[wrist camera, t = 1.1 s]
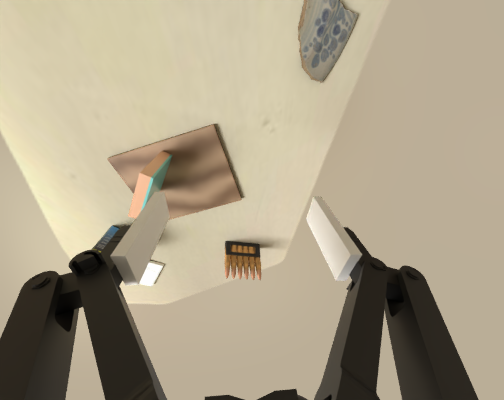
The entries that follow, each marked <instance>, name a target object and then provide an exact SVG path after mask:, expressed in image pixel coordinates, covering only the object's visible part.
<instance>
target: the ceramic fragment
mask: <svg viewBox="0 0 504 400" xmlns="http://www.w3.org/2000/svg"><path fill="white" fill-rule="evenodd" d="M357 17H358V15H357V13H353V12H351V11H350V10H346V9H345V8H344V7H343V4H342V3H341V2H340V0H304V5H303V7H302V13H301V16H300V22H299V26H298V30H299V37H298V40H299V42H300V50H299V52H300V56H301V61H302V68H303V69H304V70H305V71H306V73H307V74H308V75H309V76H310V78H311V79H312V80H316V81H320V82H321V83H322V82H323V80H324V79H325V78H326V76H327V75H328V74H329V72H330V71H331V69H332V67H333V66H334V64H335V63H336V61H337V59H338V58H339V56H340V54H341V52H342V50H343V48H344V47H345V45H346V43H347V40H348V38H349V36H350V34H351V32H352V29H353V27H354V25H355V22H356V20H357Z"/></svg>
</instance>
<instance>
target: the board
mask: <svg viewBox="0 0 504 400" xmlns="http://www.w3.org/2000/svg"><path fill="white" fill-rule="evenodd" d="M161 151H164V152H166V153H169V154H171V155H172V158H171V161H170V164H169V167H168V169H167V172H166V175H165V178H164V181H163V184H162V187H161V190H160V192H164V193H165V198H166V203H167V207H168V212H169V216H170V218H169V220H170V219H174V218H177V217H181V216H185V215H188V214H192V213H196V212H199V211H203V210H207V209H210V208H214V207H217V206H221V205H225V204H228V203H232V202H236V201H239V200H241V196H240V193H239V190H238V187H237V185H236V182H235V179H234V177H233V174H232V171H231V169H230V166H229V163H228V161H227V158H226V155H225V153H224V150H223V147H222V145H221V142H220V139H219V137H218V134H217V131H216V129H215V126H214V124H213V125H210V126H206V127H203V128H200V129H197V130H194V131H191V132H187V133H184V134H181V135H178V136H175V137H172V138H169V139H165V140H162V141H159V142H156V143H153V144H150V145H146V146H143V147H140V148H137V149H134V150H131V151H127V152H124V153H121V154H118V155H115V156H112V157H109V158H108V159H107V160H108V161H109V162H110V163H111V165H112V166H113V167H114V169H115V170H116V171H117V173H118V174H119V175H120V176H121V178H122V179H123V180H124V182H125V183H126V184H127V186H128V187H129V188H130V190H131V191H132V192H133V193H134V192H135V188H136V184H137V180H138V177H139V173H140V172H141V171H142V170H143V169H144V168H145V167H146V166H147V165H148V164H149V163H150V162H151V161H152V160H153V159H154V158H155V157H156V156H157V155H158V154H159V153H160V152H161Z"/></svg>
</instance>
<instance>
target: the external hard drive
mask: <svg viewBox="0 0 504 400" xmlns="http://www.w3.org/2000/svg"><path fill="white" fill-rule="evenodd" d="M163 266H164V264H163V263H159V262H156V261H149V263H148V265H147V268H146V270H145V272H144V274H143V276H142V278H141V281H140V283H139V284H143V285H148V286H153V284H154V282H155V281H156V279H157V277H158V275H159V273H160V271H161V270H162V268H163Z"/></svg>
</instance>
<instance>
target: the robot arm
mask: <svg viewBox="0 0 504 400" xmlns="http://www.w3.org/2000/svg"><path fill="white" fill-rule="evenodd" d="M169 218H170V216H169V212H168V207H167V203H166V198H165V193H164V192H154V194H153V195H152V196H151V198H150V199H149V201H148V202H147V204H146V205H145V207H144V208H143V209H142V211H141V212H140V214H139V215H138V217H137V218H136V220H135V221H134V222H133V224H132V225H131V226H123V227H122V228H120V229H119V230H117V232H116V233H115V234H114V235H113V238H111V239H110V241H109V242H108V243H107V245H106V246H105V247H104V249H103V250H102V251H101V253H100V252H99V251H98V250H87V251H84V252H82V253H80V254H78V255H76V256H75V257H74V258H73V259H72V260H71V261H70V263H69V268H70V269H71V270H72V273H68V274H64V275H59V274H58V273H57V272H55V271H47V272H43V273H40V274H38V275H36V276H34V277H32V278H31V279H29V280H28V281H27V282H26V283H25V284H24V285H23V287H22V289H21V291H20V293H19V296H18V298H17V301H16V303H15V305H14V308H13V310H12V312H11V315H10V317H9V319H8V322H7V324H6V327H5V329H4V331H3V334H2V336H1V338H0V400H65V398H66V391H67V384H68V378H69V372H70V365H71V358H72V352H73V345H74V339H75V332H76V326H77V319H78V312H79V308H81V307H83V308H84V312H85V316H86V320H87V324H88V329H89V333H90V337H91V341H92V346H93V350H94V354H95V358H96V362H97V367H98V370H99V375H100V379H101V383H102V387H103V392H104V395H105V400H167V398H166V396H165V394H164V392H163V389H162V387H161V385H160V382H159V380H158V377H157V375H156V372H155V370H154V368H153V365H152V363H151V360H150V358H149V356H148V353H147V351H146V348H145V346H144V344H143V341H142V339H141V336H140V334H139V332H138V329H137V327H136V325H135V322H134V320H133V317H132V315H131V312H130V310H129V308H128V305H127V303H126V300H125V298H124V296H123V293H122V291H121V288H120V287H119V285H120V284H121V282H122V280H123V282H124V283H125V285H139V283H140V281H141V278H142V276H143V274H144V272H145V270H146V268H147V265H148V263H149V261H150V259H151V257H152V255H153V252H154V250H155V248H156V246H157V244H158V242H159V240H160V237H161V235H162V233H163V231H164V229H165V227H166V224H167V222H168V220H169ZM306 220H307V222H308V224H309V226H310V228H311V231H312V233H313V235H314V236H315V239H316V241H317V243H318V245H319V247H320V249H321V251H322V253H323V255H324V257H325V259H326V261H327V263H328V265H329V267H330V269H331V271H332V273H333V275H334V278H335V280H336V281H338V280H347V278H348V277H349V275H350V277H351V279H352V282H351V283H350V284H349V286H348V288H347V290H348V293H347V297H346V300H345V304H344V307H343V310H342V314H341V317H340V321H339V324H338V327H337V331H336V335H335V338H334V341H333V345H332V348H331V352H330V355H329V358H328V362H327V365H326V369H325V372H324V376H323V379H322V382H321V385H320V387H319V389H318V391H317V394H316V396H315V398H314V400H380V399H379V397H378V396H377V393H376V387H377V377H378V367H379V357H380V347H381V337H382V327H383V318H384V309H385V314H386V320H387V325H388V330H389V335H390V340H391V344H392V349H393V355H394V360H395V365H396V370H397V375H398V380H399V385H400V390H401V395H402V400H478V398H477V395H476V393H475V391H474V388H473V386H472V384H471V381H470V379H469V377H468V375H467V372H466V370H465V368H464V366H463V363H462V361H461V359H460V356H459V354H458V352H457V350H456V347H455V345H454V343H453V341H452V338H451V336H450V334H449V332H448V329H447V327H446V325H445V323H444V320H443V318H442V316H441V313H440V311H439V309H438V307H437V305H436V302H435V300H434V297H433V295H432V293H431V291H430V288H429V286H428V284H427V282H426V279H425V278H424V276H423V275H422V274H421V273H420V272H419V271H418V270H416V269H414V268H412V267H410V266H402V267H401V268H400V269H399V270H397V269H393V268H390V267H387V266H386V265H385V264H384V263H383V262H382V261H380V260H378V259H377V258H374V257H372V256H371V255H370V254H369V252H368V251H367V250H366V248H365V247H364V246H363V244H362V243H361V242H360V240H359V239H358V238H357V236H356V235H355V234H354V232H353V231H351V230H350V229H349V228H345V227H344V228H343V227H342V226H341V224H340V222H339V221H338V220H337V218H336V217H335V215H334V214H333V213H332V211H331V210H330V208H329V207H328V205H327V204H326V203H325V201H324V200H323V198H322V197H313V199H312V203H311V206H310V209H309V212H308V215H307V218H306ZM205 400H244V399H240V398H237V397H234V396H230V395H222V396H210V397H205ZM258 400H307V399H306V398H304V397H302V396H300V395H297V390H296V389H291V390H280V391H274V392H272V393H270V394H268V395H266V396H263V397H261V398H259V399H258Z"/></svg>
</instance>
